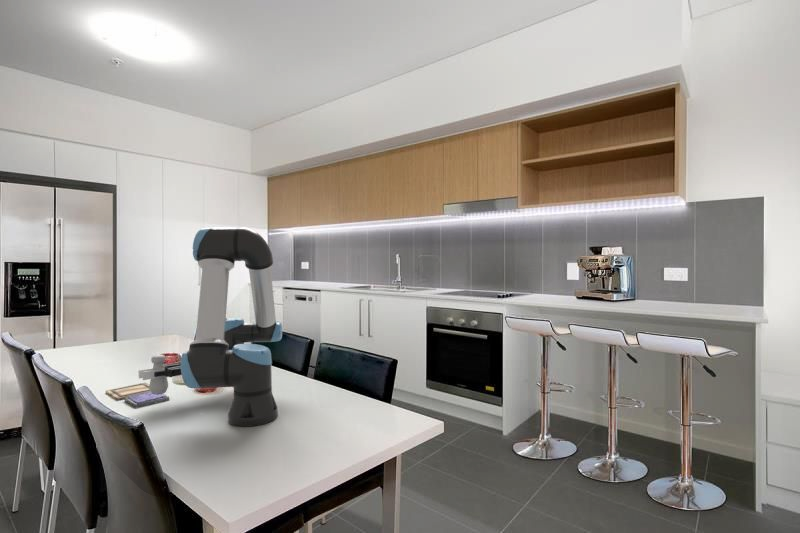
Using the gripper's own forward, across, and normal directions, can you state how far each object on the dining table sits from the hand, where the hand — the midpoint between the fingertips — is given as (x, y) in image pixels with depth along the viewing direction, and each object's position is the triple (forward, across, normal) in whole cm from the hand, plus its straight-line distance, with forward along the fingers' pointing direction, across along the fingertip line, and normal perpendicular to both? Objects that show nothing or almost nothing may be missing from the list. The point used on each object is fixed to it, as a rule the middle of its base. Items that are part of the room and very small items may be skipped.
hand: (141, 375), depth 148 cm
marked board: (-5, +26, -12) cm, 29 cm away
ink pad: (-5, +11, -12) cm, 17 cm away
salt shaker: (-5, 0, -8) cm, 9 cm away
